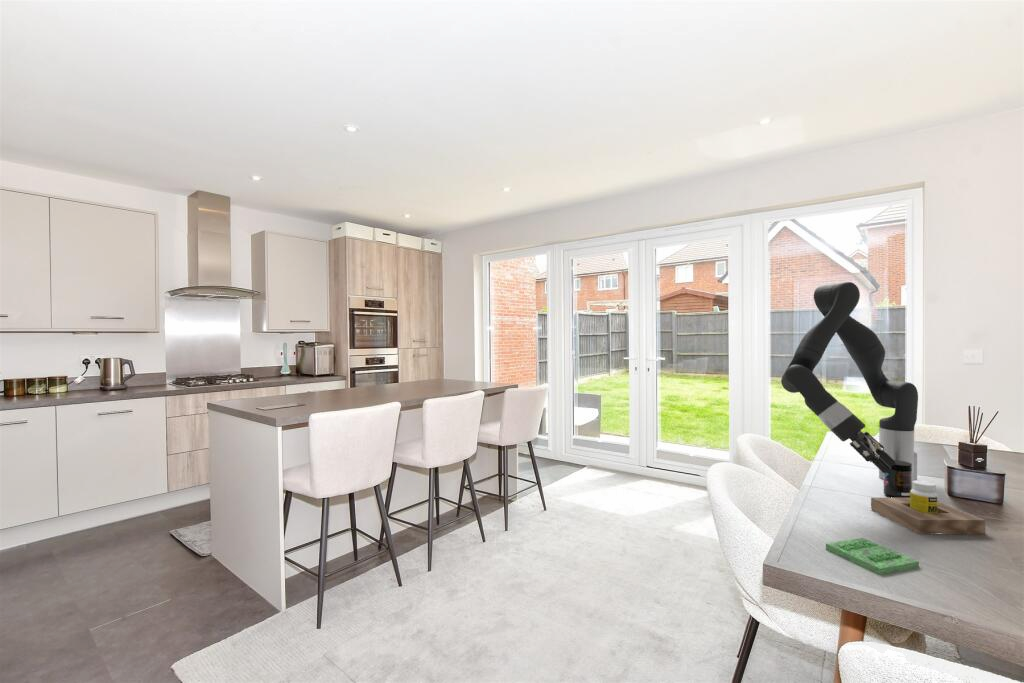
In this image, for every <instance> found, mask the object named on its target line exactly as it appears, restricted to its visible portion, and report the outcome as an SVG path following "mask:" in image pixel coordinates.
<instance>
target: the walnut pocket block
mask: <svg viewBox="0 0 1024 683" xmlns="http://www.w3.org/2000/svg"><path fill="white" fill-rule="evenodd" d="M871 509H872V510H873V512H874V511H875V512H874V513H876V512H877V513H876V514H878V513H879V515H880V514H881V515H880V516H882V515H883V517H884V516H885V517H884V518H886V517H887V518H886V519H888V518H889V519H888V520H890V519H891V520H890V521H892V520H893V522H894V521H895V523H896V522H897V524H898V523H899V524H898V525H900V526H902V527H904V526H905V527H904V528H907V529H909V530H911V531H912V530H913V531H912V532H915V533H917V534H918V535H935V534H934V533H945V534H944V535H986V519H984V518H982V517H979V516H976V515H974V514H971V513H969V512H966V511H964V510H961V509H958V508H956V507H953V506H951V505H949V504H946V503H944V502H941V501H939V500H938V513H921V512H919V511H917V510H914V509H912V508H910V498H890V497H870V510H871ZM872 510H871V511H872ZM931 533H933V534H931Z"/></svg>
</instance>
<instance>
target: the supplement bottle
mask: <svg viewBox="0 0 1024 683" xmlns="http://www.w3.org/2000/svg"><path fill="white" fill-rule="evenodd" d="M936 486H937V485H936V484H935V483H934V482H931V481H926V480H918V479H917V480H915V481H913V482H912V489H911V491H910V508H912V509H914V510H917V511H919V512H921V513H938V501H939V500H938V498H939V496H938V494H937V492H936V491H937V487H936Z"/></svg>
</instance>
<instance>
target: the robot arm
mask: <svg viewBox="0 0 1024 683" xmlns="http://www.w3.org/2000/svg"><path fill="white" fill-rule="evenodd" d="M813 292H814V293H813V301H814V303H815V306H816V308H817V309H818V310H819V312H820V313H821V315H823V318H821V320H820V321H818V322H817V323H816V324H815V325H814V326H813V327H812V328H810V329H809V330H808V331H807V332H806V333H805V335H803V337H802V338H801V340H800V343H799V344H798V346H797V348H796V350H795V352H794V355H793V357H792V359H791V361H790V363H789V364H788V366H787V368H786V369H785V372H784V373H783V375H782V376H781V380H780V382H781V386H782V388H783V389H784V390H785V391H787V392H789V393H793V394H796V393H800V395H801V396H802V398H803V399H804V403H805V404H804V405H805V406H807V407H808V409H809V410H811V411H812V413H814V414H815V415H816V417H818V419H819V420H820V421H821V422H822V423H823V424H824V425H825V426H826V427H827V428H828V429H829V431H831V432H832V433H833V434H834V435H835V436H836V438H838V439H839V440H840V441H841V442H845V441H847V440H850V441H851V442H850V443H849V445H850V447H852V448H853V450H855V451H856V452H857V454H859V455H860V456H861V457H862V458H863V459H864V460H865V461H866V462H867V463H868V462H870V463H872V464H873V465H874V466H876V468H878V477H879V478H880V479H882V480H884V473H887V472H888V471H890V470H891V466H893V465H895V464H896V461H895V460H900V461H905V462H909V463H911V464H912V482H913V481H915V480H918V453H917V452H915V426H916V423H917V420H918V407H919V406H918V404H919V392H918V389H917V387H916V386H915V384H914V383H911V382H906V381H895V380H894V381H893V380H889V379H888V378H887V376H886V375H885V373H884V372H883V369H882V368H883V365H884V361H885V357H886V350H885V348H884V345H883V344H882V342H881V340H880V339H879V337H878V335H877V334H876V333H875V332H874V331H873V330H872V329H871V328H869V327H868V326H866V325H864V324H863V323H862V322H860V321H858V320H856V319H855V318H853V317H852V316H851V314H852V313H853V311H854V310H855V308H856V307H857V305H858V304H859V301H860V298H861V297H860V296H861V294H860V288H859V287H858V286H857V284H855V283H854V282H852V281H840V282H834V283H826V284H822V285H819V286H817V287H816V288H815V290H814V291H813ZM835 334H836V335H837V337H839V339H840V341H841V342H842V343H843V346H844V347H845V349H846V350H847V352H848V354H849V356H850V357H851V358H852V360H853V361H854V363H855V365H856V366H857V368H858V370H859V371H860V374H861V375H862V377H863V379H864V380H865V383H866V385H867V387H868V389H869V391H870V394H871V396H872V398H873V400H874V401H875V402H876V404H877V405H878V406H881V407H884V408H890V409H894V414H893V415H891V416H889V417H883V418H880V419H879V422H878V423H879V424H878V425H879V427H878V429H879V430H878V431H879V434H878V435H879V438H878V439H879V440H877V439H875V438H874V437H873V436H872V435H871V434H870V433H869V432H868V431H865V432H862V430H863V429H865V428H866V424H865V423H864V422H863V421H862V420H861V419H859V418H858V416H856V415H855V414H854V413H853V412H852V411H851V410H850V409H849V408H847V406H845V405H844V404H842V403H841V402H840V401H839V400H837V399H836V398H835V397H834V396H833V395H832V394H831V393H830V392H829V391H828V390H827V389H825V387H824V386H823V384H822V383H821V380H819V379H818V378H817V377H816V375H815V374H814V369H815V368H816V367H817V365H819V362H821V359H822V358H823V355H824V353H825V352H826V350H827V348H828V345H830V342H831V341H832V339H833V337H834V336H835Z"/></svg>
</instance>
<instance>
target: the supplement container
mask: <svg viewBox="0 0 1024 683" xmlns="http://www.w3.org/2000/svg"><path fill="white" fill-rule="evenodd" d="M895 461H896V464H895V465H893V466H891V470H890V471H888V472H887V473H884V479H883V494H884V496H886V497H888V496H889V497H888V498H890V497H892V498H910V491H911V489H913V487H912V464H911V463H909V462H905V461H900V460H895Z"/></svg>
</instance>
